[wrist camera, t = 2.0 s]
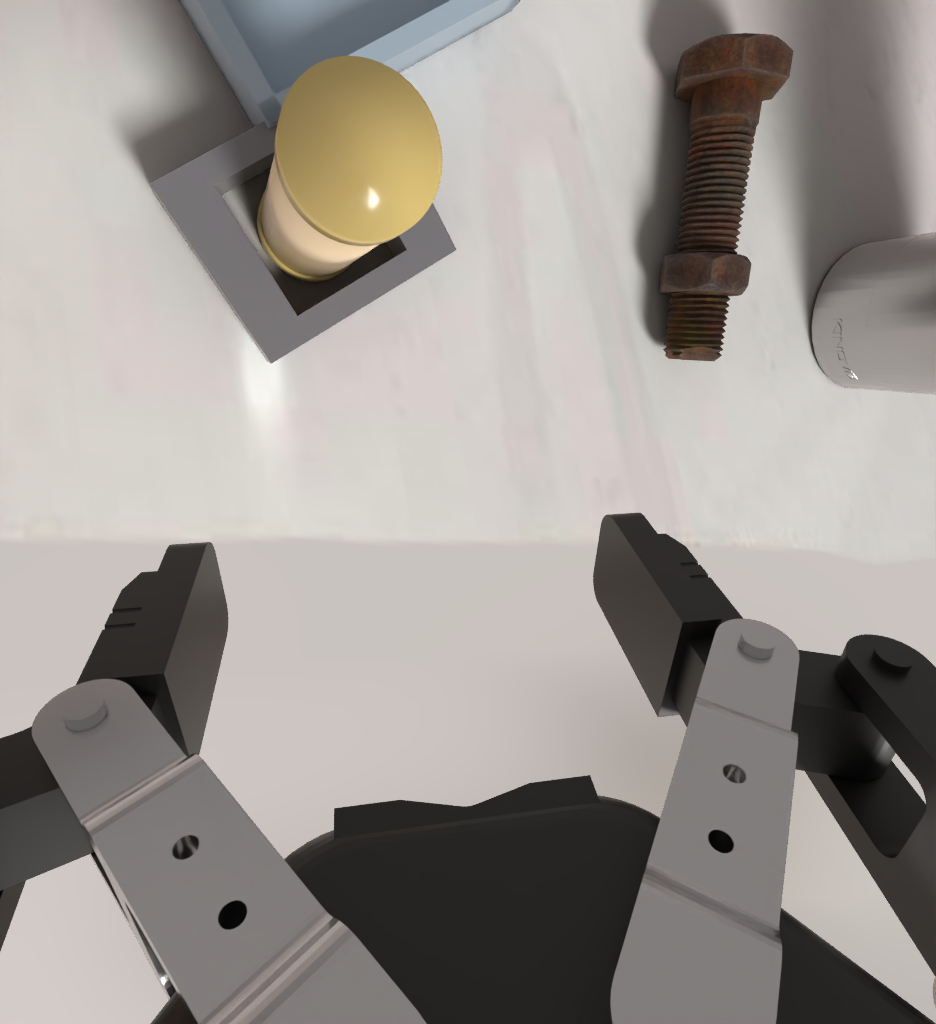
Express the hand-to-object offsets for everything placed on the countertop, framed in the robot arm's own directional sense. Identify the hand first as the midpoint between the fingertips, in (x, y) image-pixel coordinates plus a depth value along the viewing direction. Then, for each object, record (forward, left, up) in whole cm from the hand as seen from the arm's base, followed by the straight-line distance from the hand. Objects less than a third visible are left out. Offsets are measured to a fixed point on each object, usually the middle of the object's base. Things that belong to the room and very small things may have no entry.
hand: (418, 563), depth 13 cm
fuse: (-5, -8, -20) cm, 22 cm away
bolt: (-24, +1, -21) cm, 32 cm away
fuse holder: (-5, -8, -20) cm, 22 cm away
